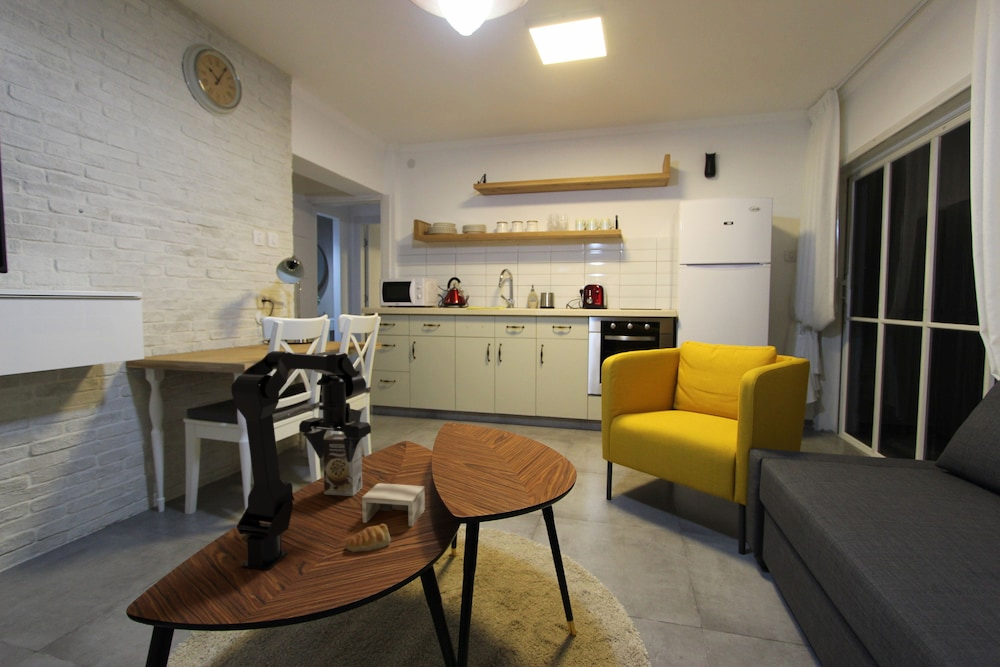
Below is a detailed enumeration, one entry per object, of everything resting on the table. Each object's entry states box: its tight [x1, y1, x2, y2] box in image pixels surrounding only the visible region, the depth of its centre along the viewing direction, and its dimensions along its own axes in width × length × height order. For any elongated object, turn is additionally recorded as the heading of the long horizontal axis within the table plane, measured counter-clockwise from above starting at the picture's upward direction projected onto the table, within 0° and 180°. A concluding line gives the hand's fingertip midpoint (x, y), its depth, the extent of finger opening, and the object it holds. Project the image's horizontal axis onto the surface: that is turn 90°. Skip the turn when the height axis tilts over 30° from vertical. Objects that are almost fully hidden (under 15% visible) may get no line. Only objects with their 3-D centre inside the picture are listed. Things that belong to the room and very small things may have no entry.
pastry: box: [345, 523, 392, 553], centre depth 101 cm, size 9×7×4 cm
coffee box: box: [323, 433, 363, 497], centre depth 130 cm, size 9×6×16 cm
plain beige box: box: [361, 483, 426, 527], centre depth 114 cm, size 9×13×6 cm
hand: (335, 460), depth 117 cm, fingers open, 9 cm apart
